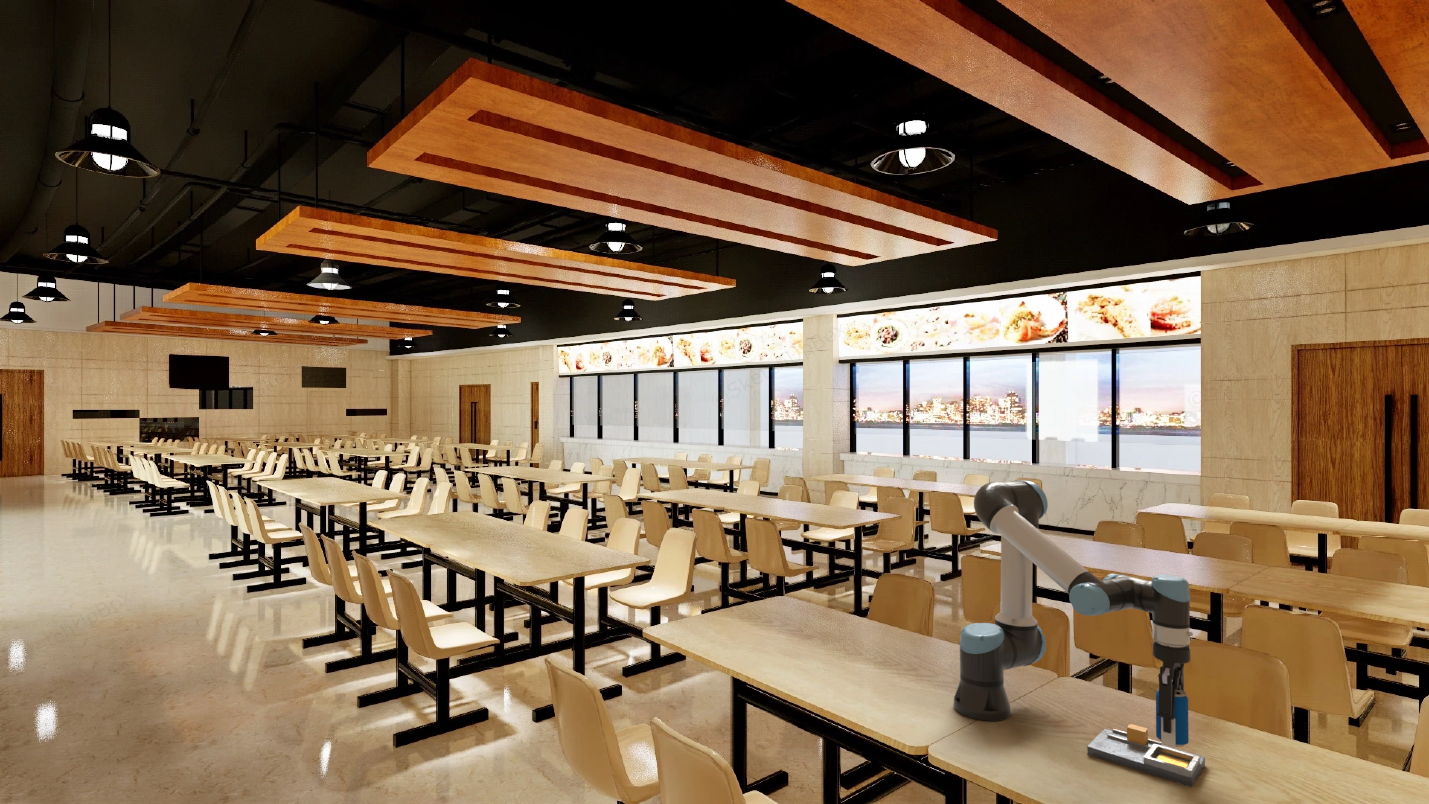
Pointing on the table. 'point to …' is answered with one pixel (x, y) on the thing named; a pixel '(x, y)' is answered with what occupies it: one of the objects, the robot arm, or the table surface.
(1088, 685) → the table surface
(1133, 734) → the block
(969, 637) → the robot arm
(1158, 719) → the beverage can
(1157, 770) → the panel
